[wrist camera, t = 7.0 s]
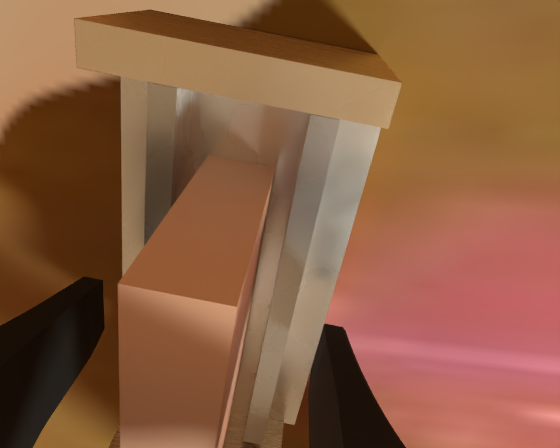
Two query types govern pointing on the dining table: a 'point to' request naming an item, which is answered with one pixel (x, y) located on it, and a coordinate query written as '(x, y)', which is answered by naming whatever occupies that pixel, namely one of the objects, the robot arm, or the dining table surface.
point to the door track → (254, 149)
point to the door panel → (191, 309)
